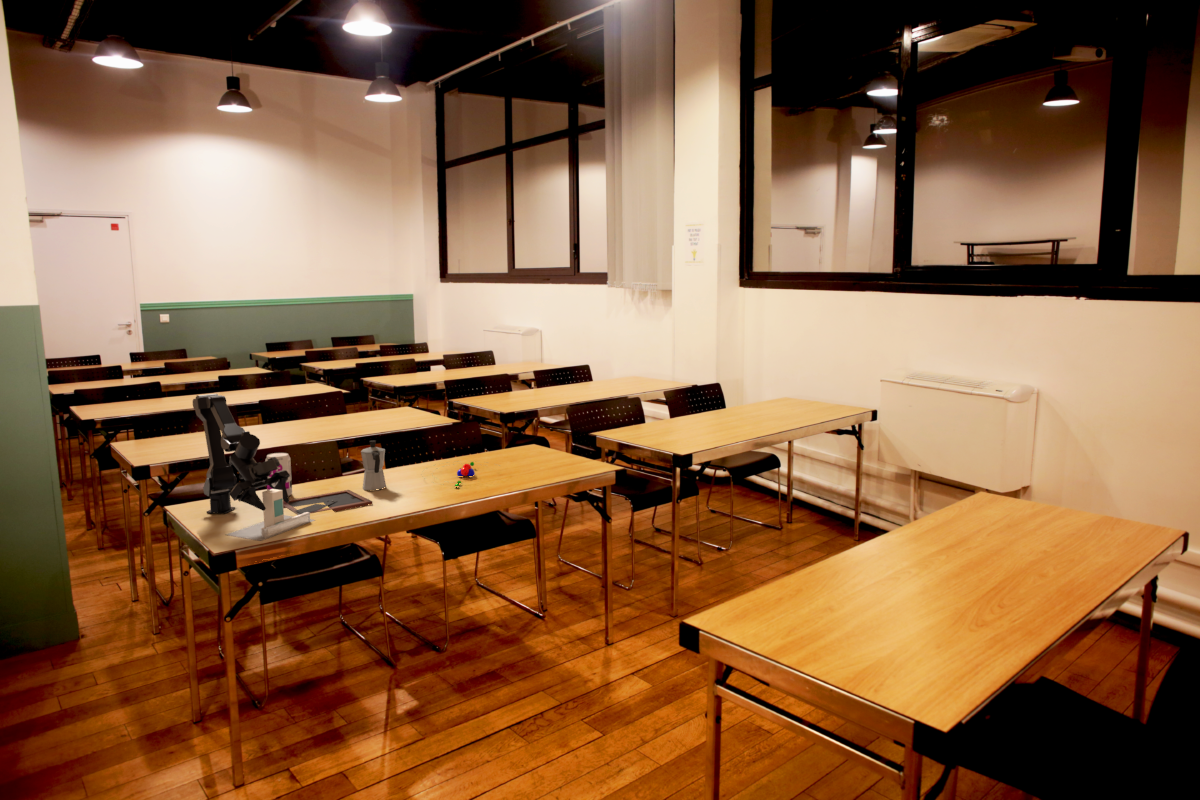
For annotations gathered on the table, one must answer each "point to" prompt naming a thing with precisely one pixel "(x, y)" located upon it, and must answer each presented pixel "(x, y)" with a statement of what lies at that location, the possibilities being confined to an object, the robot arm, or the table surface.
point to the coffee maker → (373, 467)
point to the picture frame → (327, 502)
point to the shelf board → (256, 531)
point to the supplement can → (284, 465)
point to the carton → (273, 506)
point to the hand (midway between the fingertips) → (276, 505)
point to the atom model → (463, 471)
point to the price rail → (285, 525)
